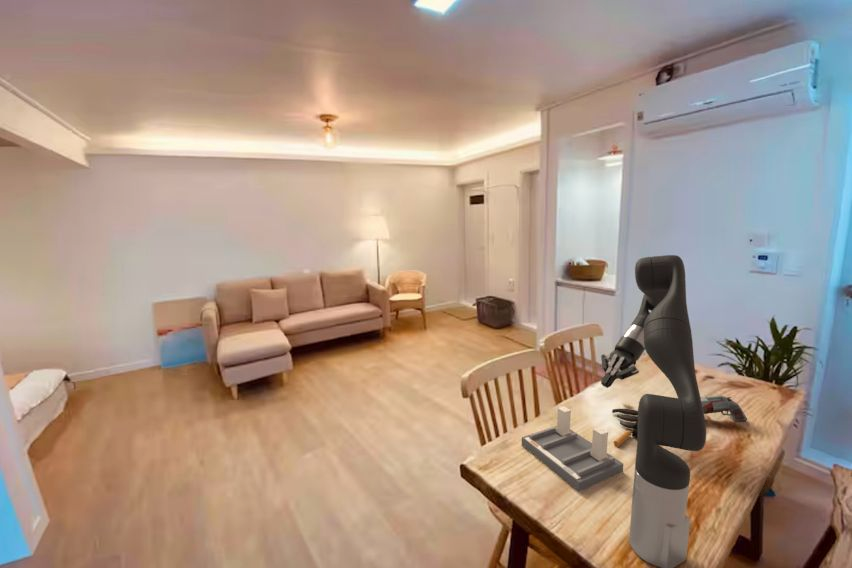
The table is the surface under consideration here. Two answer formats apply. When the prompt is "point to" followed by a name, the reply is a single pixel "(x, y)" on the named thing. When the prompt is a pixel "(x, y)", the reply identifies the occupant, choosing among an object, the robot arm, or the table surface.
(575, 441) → the switch box
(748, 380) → the table surface
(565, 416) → the far tab
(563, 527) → the table surface
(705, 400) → the toy gun
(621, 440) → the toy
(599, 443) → the near tab
